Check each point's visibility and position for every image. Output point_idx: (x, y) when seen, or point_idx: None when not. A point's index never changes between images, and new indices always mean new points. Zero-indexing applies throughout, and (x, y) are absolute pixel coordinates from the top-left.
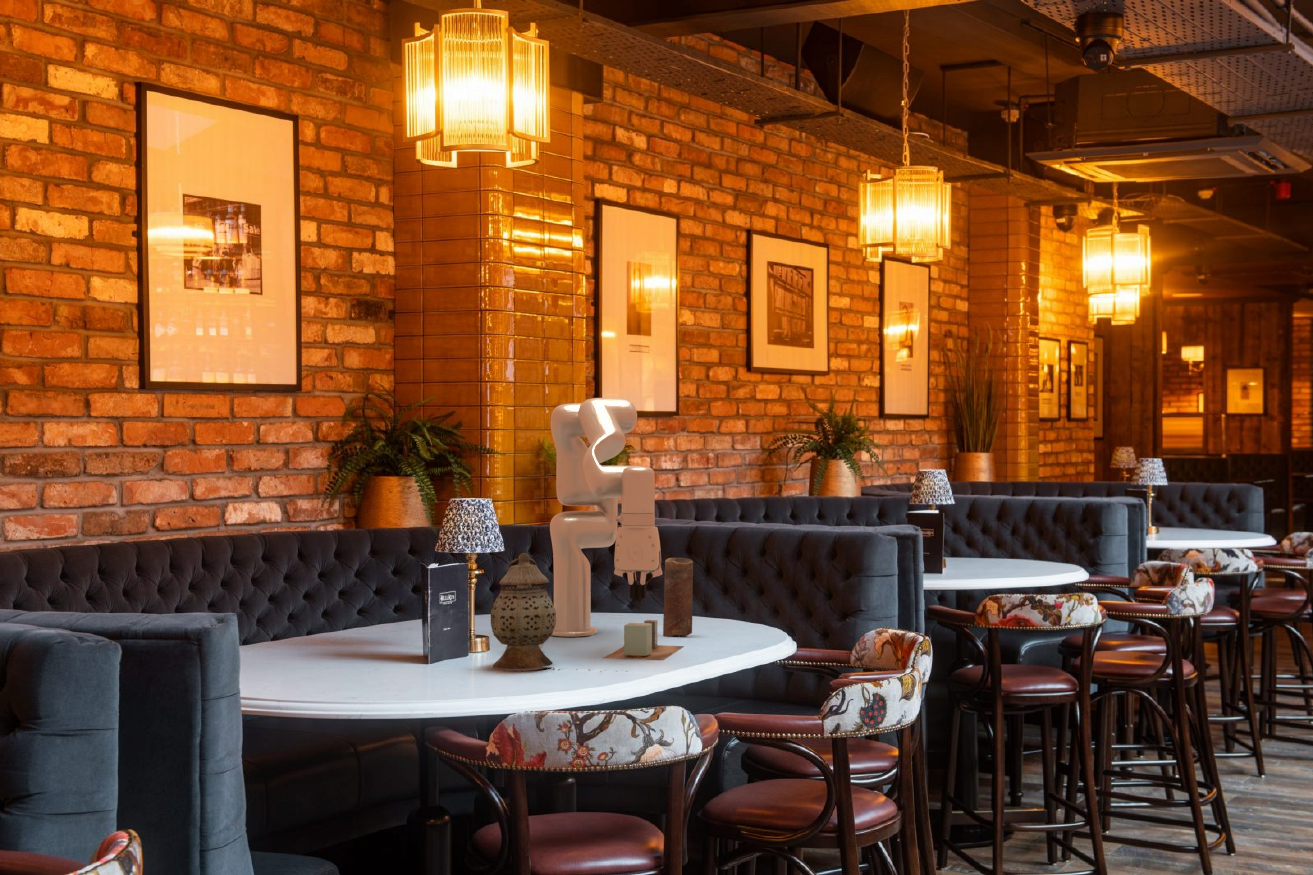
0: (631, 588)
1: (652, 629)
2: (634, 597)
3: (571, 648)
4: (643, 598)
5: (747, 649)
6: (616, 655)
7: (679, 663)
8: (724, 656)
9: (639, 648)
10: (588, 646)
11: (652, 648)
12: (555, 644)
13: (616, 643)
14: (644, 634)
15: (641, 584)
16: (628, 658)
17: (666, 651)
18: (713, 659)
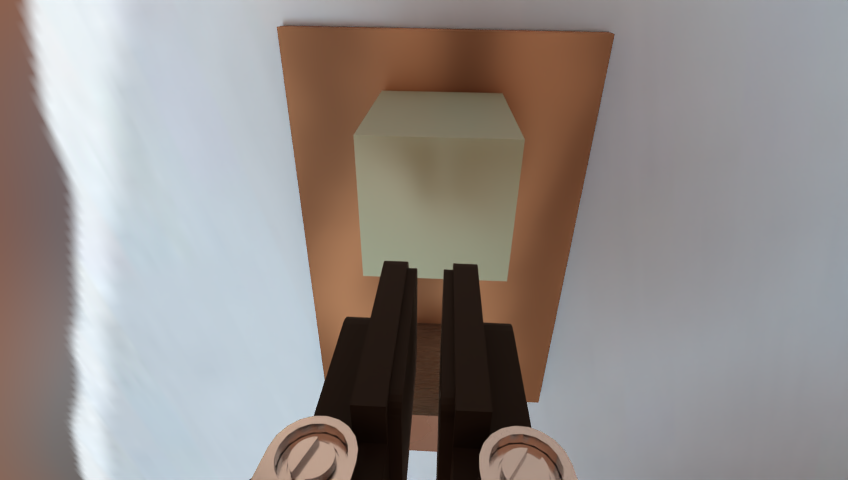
0: (507, 401)
1: (416, 383)
2: (454, 292)
3: (754, 357)
4: (365, 320)
5: (138, 410)
6: (547, 133)
7: (214, 59)
8: (131, 277)
9: (417, 100)
10: (684, 400)
11: (421, 324)
12: (811, 422)
13: (585, 457)
14: (376, 118)
15: (340, 424)
16: (469, 43)
17: (350, 279)
18: (131, 202)
